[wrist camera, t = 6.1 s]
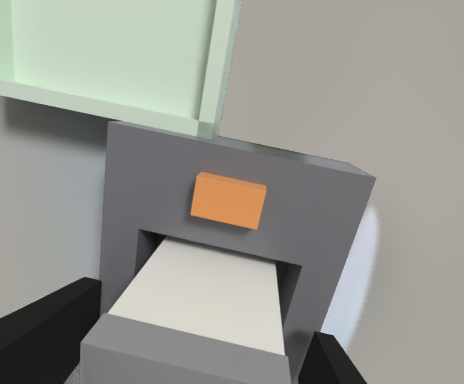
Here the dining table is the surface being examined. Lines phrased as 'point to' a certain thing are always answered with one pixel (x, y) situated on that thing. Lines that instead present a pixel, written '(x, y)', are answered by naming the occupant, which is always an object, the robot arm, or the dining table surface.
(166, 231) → the power strip
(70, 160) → the dining table surface
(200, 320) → the plug
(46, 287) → the dining table surface
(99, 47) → the tray
